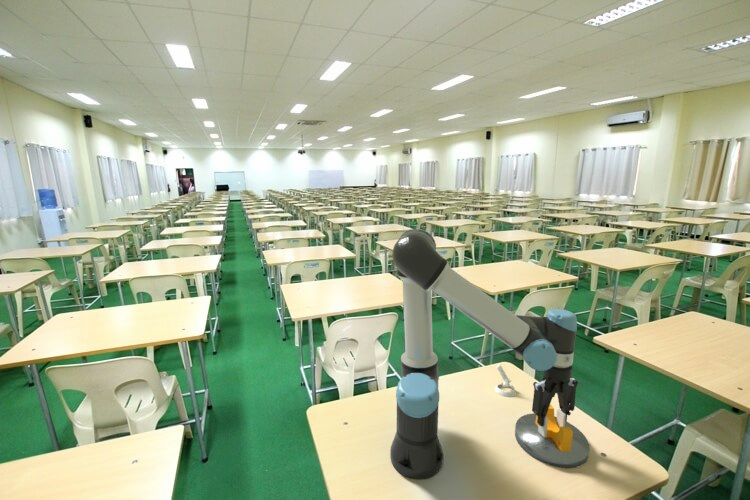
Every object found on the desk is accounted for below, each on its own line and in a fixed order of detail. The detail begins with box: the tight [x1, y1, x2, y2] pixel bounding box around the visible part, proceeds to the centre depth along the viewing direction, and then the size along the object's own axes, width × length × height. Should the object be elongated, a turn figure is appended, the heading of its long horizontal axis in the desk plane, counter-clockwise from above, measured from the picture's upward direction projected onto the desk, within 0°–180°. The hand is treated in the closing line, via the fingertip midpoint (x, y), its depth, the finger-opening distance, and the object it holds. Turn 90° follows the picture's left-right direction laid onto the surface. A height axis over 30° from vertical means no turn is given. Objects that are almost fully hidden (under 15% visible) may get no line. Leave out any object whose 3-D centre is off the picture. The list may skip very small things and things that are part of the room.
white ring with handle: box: [494, 363, 517, 398], centre depth 132 cm, size 8×12×7 cm
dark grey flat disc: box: [514, 412, 590, 469], centre depth 104 cm, size 20×20×2 cm
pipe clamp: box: [536, 404, 573, 452], centre depth 103 cm, size 12×4×6 cm, turn 1°
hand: (550, 432), depth 104 cm, fingers open, 5 cm apart
